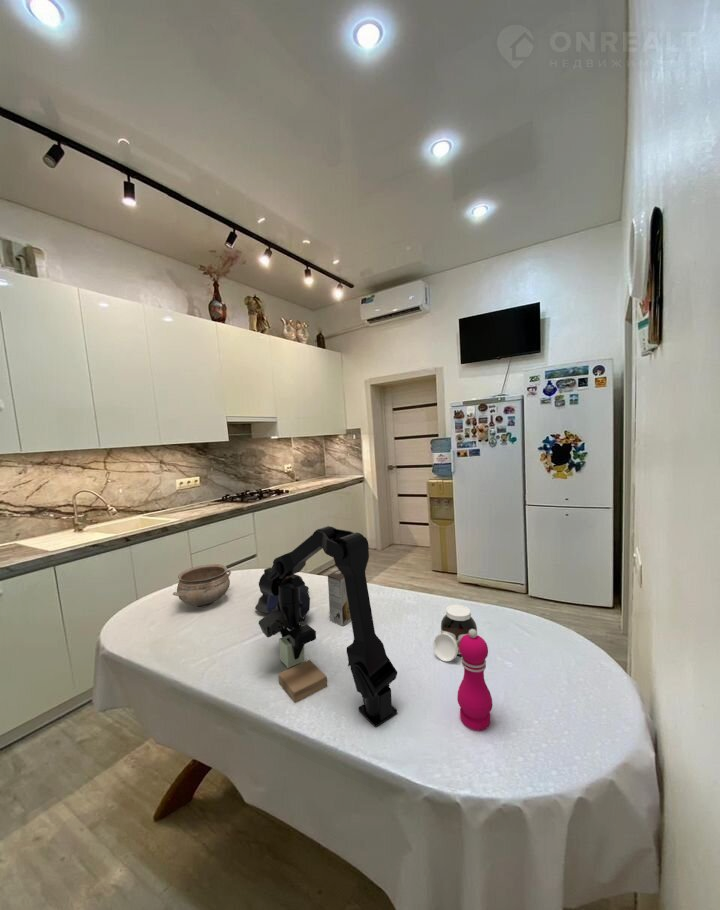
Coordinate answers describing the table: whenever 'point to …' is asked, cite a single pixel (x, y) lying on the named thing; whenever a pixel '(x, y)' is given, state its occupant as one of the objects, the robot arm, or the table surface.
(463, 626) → the spread jar
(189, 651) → the table surface
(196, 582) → the cooking pot
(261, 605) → the casserole
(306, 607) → the decorative orb
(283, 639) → the sage cube
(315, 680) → the walnut block
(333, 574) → the coffee box
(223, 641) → the table surface
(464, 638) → the pepper mill
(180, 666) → the table surface
